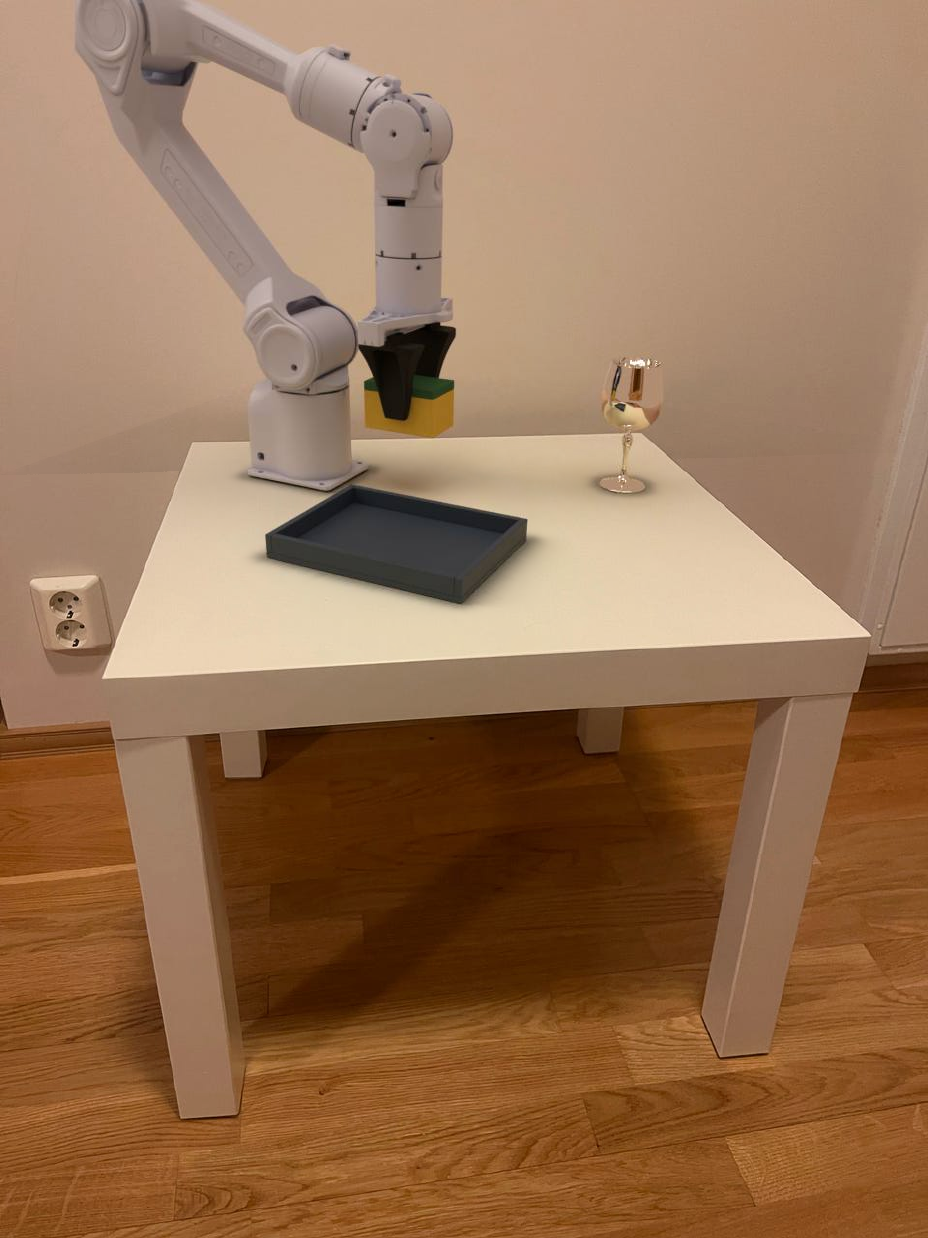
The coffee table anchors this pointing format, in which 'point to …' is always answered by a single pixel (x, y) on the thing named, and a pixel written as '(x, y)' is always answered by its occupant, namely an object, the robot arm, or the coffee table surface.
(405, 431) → the sponge
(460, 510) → the tray
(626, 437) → the wineglass
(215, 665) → the coffee table surface
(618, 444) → the coffee table surface
